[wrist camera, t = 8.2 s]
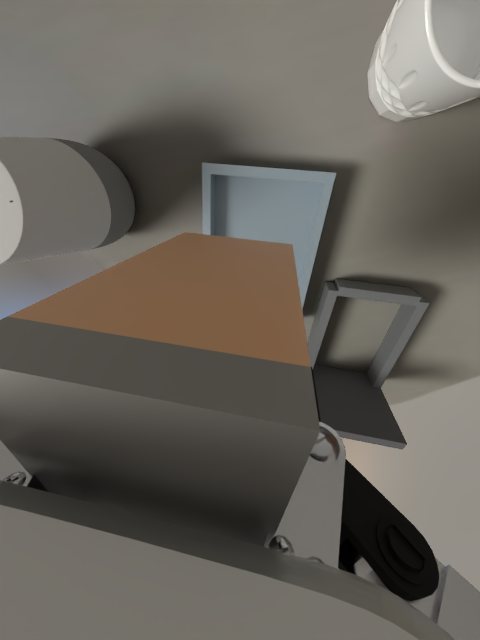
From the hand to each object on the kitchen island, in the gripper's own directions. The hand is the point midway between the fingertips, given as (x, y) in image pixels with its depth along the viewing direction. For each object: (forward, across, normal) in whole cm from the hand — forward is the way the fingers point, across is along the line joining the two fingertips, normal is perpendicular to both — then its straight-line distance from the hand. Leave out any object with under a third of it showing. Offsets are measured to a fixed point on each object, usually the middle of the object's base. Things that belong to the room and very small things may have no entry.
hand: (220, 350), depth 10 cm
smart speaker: (+18, +18, -4) cm, 26 cm away
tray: (+18, 0, 0) cm, 18 cm away
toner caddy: (+3, 0, 0) cm, 3 cm away
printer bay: (+18, -13, +9) cm, 24 cm away
